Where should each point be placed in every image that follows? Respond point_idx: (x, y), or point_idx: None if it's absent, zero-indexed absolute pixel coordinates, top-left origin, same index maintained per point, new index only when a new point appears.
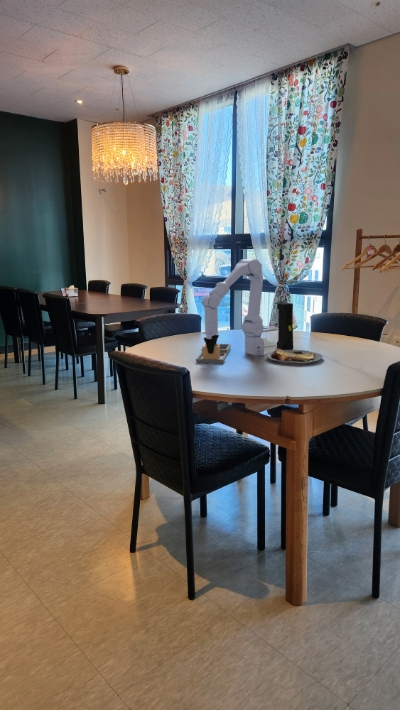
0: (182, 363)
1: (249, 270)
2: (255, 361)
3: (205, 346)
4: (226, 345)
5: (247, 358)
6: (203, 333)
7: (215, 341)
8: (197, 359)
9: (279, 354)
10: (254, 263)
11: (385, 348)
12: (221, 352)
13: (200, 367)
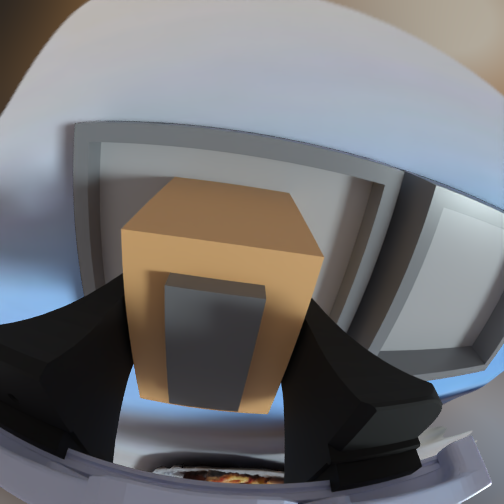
0: (112, 9)
1: None
2: (193, 434)
3: (124, 275)
4: (488, 349)
5: (261, 421)
6: (93, 485)
7: (286, 416)
8: (75, 139)
9: (259, 482)
10: None
11: None
12: (357, 340)
13: (6, 179)
